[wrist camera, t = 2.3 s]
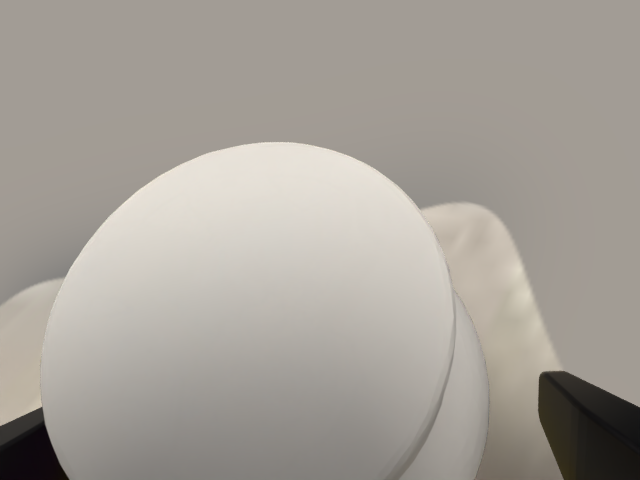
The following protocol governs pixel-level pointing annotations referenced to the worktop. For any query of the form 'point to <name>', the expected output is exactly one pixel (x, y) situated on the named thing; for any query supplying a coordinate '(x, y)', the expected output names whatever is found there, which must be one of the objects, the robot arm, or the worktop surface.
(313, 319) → the supplement bottle
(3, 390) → the worktop surface
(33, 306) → the worktop surface
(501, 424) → the worktop surface
